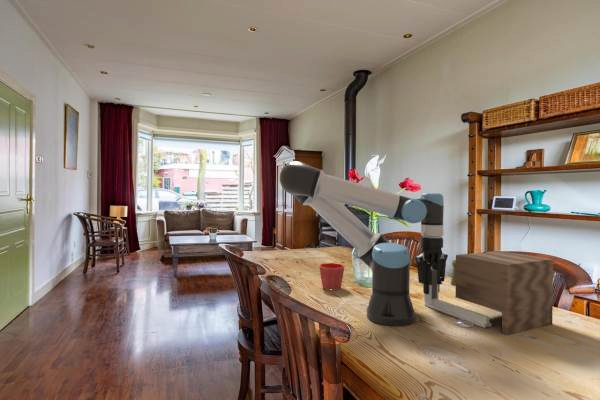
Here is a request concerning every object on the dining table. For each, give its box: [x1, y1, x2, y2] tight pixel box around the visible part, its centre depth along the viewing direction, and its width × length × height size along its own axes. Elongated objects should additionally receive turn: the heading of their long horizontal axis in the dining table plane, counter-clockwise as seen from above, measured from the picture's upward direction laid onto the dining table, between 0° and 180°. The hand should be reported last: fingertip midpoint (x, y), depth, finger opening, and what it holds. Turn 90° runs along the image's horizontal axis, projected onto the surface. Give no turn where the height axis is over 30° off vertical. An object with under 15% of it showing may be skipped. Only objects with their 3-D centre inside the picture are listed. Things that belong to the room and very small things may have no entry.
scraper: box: [424, 269, 492, 329], centre depth 117 cm, size 3×24×13 cm, turn 25°
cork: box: [450, 259, 456, 287], centre depth 158 cm, size 6×6×11 cm
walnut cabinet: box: [455, 250, 554, 336], centre depth 113 cm, size 21×18×20 cm
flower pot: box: [319, 262, 345, 291], centre depth 152 cm, size 11×11×10 cm
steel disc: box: [455, 319, 474, 329], centre depth 109 cm, size 5×5×1 cm
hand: (431, 302), depth 127 cm, fingers closed on scraper, 2 cm apart
